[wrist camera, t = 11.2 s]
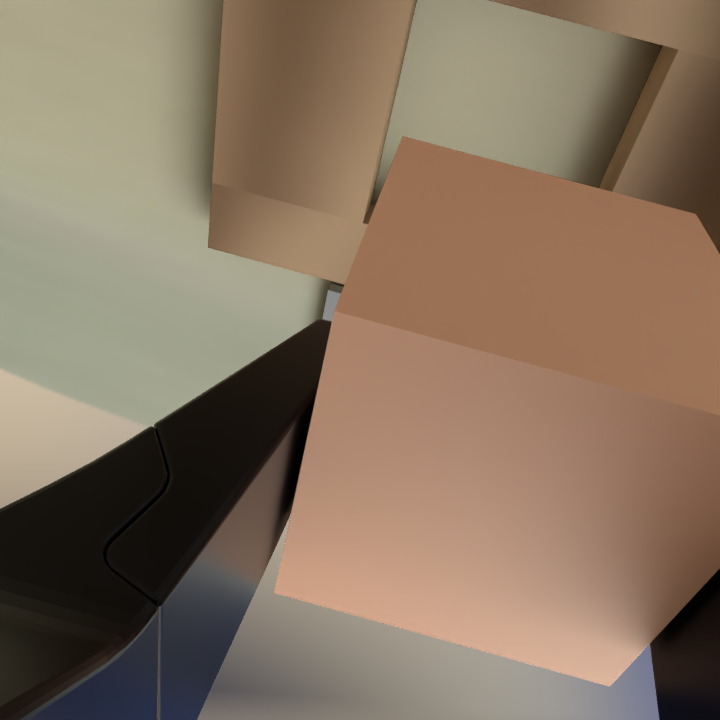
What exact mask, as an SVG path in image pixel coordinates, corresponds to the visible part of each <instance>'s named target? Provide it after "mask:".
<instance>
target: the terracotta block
mask: <svg viewBox="0 0 720 720" xmlns="http://www.w3.org/2000/svg"><path fill="white" fill-rule="evenodd" d="M719 569H720V254H719V252H718V250H717V249H716V247H715V245H714V244H713V242H712V240H711V239H710V237H709V235H708V234H707V232H706V230H705V228H704V227H703V225H702V223H701V222H700V220H699V218H698V217H697V215H696V214H694V213H690V212H686V211H682V210H679V209H675V208H671V207H667V206H663V205H660V204H656V203H652V202H648V201H645V200H641V199H637V198H633V197H629V196H626V195H622V194H618V193H614V192H611V191H607V190H603V189H599V188H596V187H592V186H588V185H584V184H580V183H577V182H573V181H569V180H565V179H562V178H558V177H554V176H550V175H547V174H543V173H539V172H535V171H531V170H528V169H524V168H520V167H516V166H513V165H509V164H505V163H501V162H497V161H494V160H490V159H486V158H482V157H479V156H475V155H471V154H467V153H464V152H460V151H456V150H452V149H448V148H445V147H441V146H437V145H433V144H430V143H426V142H422V141H418V140H414V139H411V138H407V137H402V139H401V142H400V144H399V147H398V149H397V152H396V154H395V157H394V160H393V162H392V165H391V167H390V170H389V172H388V175H387V177H386V180H385V183H384V185H383V188H382V190H381V193H380V195H379V198H378V200H377V203H376V206H375V208H374V211H373V213H372V216H371V218H370V221H369V223H368V226H367V229H366V231H365V234H364V236H363V239H362V241H361V244H360V246H359V249H358V252H357V254H356V257H355V259H354V262H353V264H352V267H351V269H350V272H349V275H348V277H347V280H346V282H345V285H344V287H343V290H342V292H341V295H340V298H339V300H338V303H337V305H336V308H335V310H334V314H333V319H332V324H331V328H330V333H329V338H328V342H327V347H326V352H325V357H324V361H323V366H322V371H321V375H320V380H319V385H318V389H317V394H316V399H315V403H314V408H313V413H312V418H311V422H310V427H309V432H308V436H307V441H306V446H305V450H304V455H303V460H302V464H301V469H300V474H299V478H298V483H297V488H296V493H295V497H294V502H293V507H292V511H291V517H290V521H289V526H288V530H287V535H286V540H285V544H284V549H283V554H282V558H281V563H280V568H279V572H278V577H277V582H276V586H275V591H274V593H277V594H280V595H284V596H287V597H291V598H294V599H298V600H302V601H305V602H309V603H312V604H316V605H319V606H324V607H327V608H330V609H334V610H338V611H341V612H345V613H349V614H352V615H355V616H359V617H362V618H366V619H370V620H373V621H377V622H380V623H384V624H388V625H391V626H395V627H399V628H402V629H406V630H409V631H413V632H416V633H420V634H424V635H427V636H431V637H434V638H438V639H442V640H445V641H449V642H452V643H456V644H459V645H463V646H466V647H470V648H474V649H477V650H481V651H484V652H488V653H491V654H495V655H499V656H502V657H506V658H510V659H513V660H517V661H520V662H524V663H527V664H531V665H534V666H538V667H542V668H546V669H549V670H553V671H556V672H560V673H564V674H567V675H571V676H574V677H578V678H581V679H585V680H588V681H592V682H595V683H599V684H603V685H607V686H611V685H612V684H613V683H614V681H615V680H616V679H617V678H618V677H619V676H620V675H621V674H622V673H623V672H624V671H625V670H626V668H628V666H629V665H630V664H631V663H632V662H633V661H634V660H635V659H636V658H637V657H638V655H640V653H641V652H642V651H643V650H644V649H645V648H646V647H647V646H648V645H649V644H650V643H651V642H652V641H653V640H654V639H655V637H656V636H657V635H658V634H659V633H660V632H661V631H662V630H663V629H664V628H665V627H666V626H667V625H668V623H669V622H670V621H671V620H672V619H673V618H674V617H675V616H676V615H677V614H678V613H679V612H680V611H681V609H682V608H683V607H684V606H685V605H686V604H687V603H688V602H689V601H690V600H691V599H692V598H693V597H694V596H695V594H696V593H697V592H698V591H699V590H700V589H701V588H702V587H703V586H704V585H705V584H706V583H707V582H708V580H709V579H710V578H711V577H712V576H713V575H714V574H715V573H716V572H717V571H718V570H719Z"/></svg>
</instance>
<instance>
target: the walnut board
mask: <svg viewBox="0 0 720 720" xmlns="http://www.w3.org/2000/svg"><path fill="white" fill-rule="evenodd" d="M490 1H494V2H497V3H501V4H505V5H509V6H513V7H517V8H520V9H524V10H528V11H532V12H536V13H540V14H544V15H547V16H551V17H555V18H559V19H563V20H567V21H571V22H574V23H578V24H582V25H586V26H590V27H594V28H597V29H601V30H605V31H609V32H613V33H617V34H621V35H624V36H628V37H632V38H636V39H640V40H644V41H648V42H651V43H655V44H659V45H663V46H662V48H661V50H660V53H659V55H658V57H657V59H656V62H655V64H654V66H653V68H652V70H651V73H650V75H649V77H648V79H647V81H646V84H645V86H644V88H643V90H642V93H641V95H640V97H639V99H638V101H637V104H636V106H635V108H634V110H633V112H632V115H631V117H630V119H629V121H628V124H627V126H626V128H625V130H624V132H623V135H622V137H621V139H620V141H619V144H618V146H617V148H616V150H615V152H614V155H613V157H612V159H611V161H610V163H609V166H608V168H607V170H606V172H605V175H604V177H603V179H602V181H601V183H600V186H599V189H603V190H607V191H611V192H614V193H618V194H622V195H626V196H629V197H633V198H637V199H641V200H645V201H648V202H652V203H656V204H660V205H663V206H667V207H671V208H675V209H679V210H682V211H686V212H690V213H694V214H696V215H697V217H698V218H699V220H700V222H701V223H702V225H703V227H704V228H705V230H706V232H707V234H708V235H709V237H710V239H711V240H712V242H713V244H714V245H715V247H716V249H717V250H718V252H719V254H720V0H490ZM416 2H417V0H223V15H222V31H221V47H220V63H219V79H218V95H217V111H216V127H215V143H214V159H213V175H212V191H211V207H210V223H209V238H208V248H212V249H215V250H219V251H223V252H226V253H230V254H234V255H237V256H241V257H245V258H249V259H252V260H256V261H260V262H263V263H267V264H271V265H274V266H278V267H282V268H286V269H289V270H293V271H297V272H300V273H304V274H308V275H311V276H315V277H319V278H323V279H326V280H330V281H334V282H337V283H341V284H345V282H346V280H347V277H348V275H349V272H350V269H351V267H352V264H353V262H354V259H355V257H356V254H357V252H358V249H359V246H360V244H361V241H362V239H363V236H364V234H365V231H366V229H367V226H368V223H369V221H370V218H371V216H372V213H373V211H374V208H375V206H376V205H373V204H371V201H372V196H373V192H374V187H375V183H376V179H377V174H378V170H379V165H380V161H381V157H382V152H383V148H384V143H385V139H386V134H387V130H388V126H389V121H390V117H391V112H392V108H393V103H394V99H395V95H396V90H397V86H398V81H399V77H400V73H401V68H402V64H403V59H404V55H405V50H406V46H407V42H408V37H409V33H410V28H411V24H412V19H413V15H414V11H415V6H416Z"/></svg>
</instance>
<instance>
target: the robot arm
mask: <svg viewBox="0 0 720 720" xmlns="http://www.w3.org/2000/svg"><path fill="white" fill-rule="evenodd" d="M331 324H332V321H328V320H325V319H319V320H317V321H315V322H314V323H312V324H311V325H309V326H308V327H306V328H304V329H303V330H301V331H300V332H298V333H297V334H295V335H293V336H292V337H290V338H289V339H287V340H286V341H284V342H282V343H281V344H279V345H278V346H276V347H274V348H273V349H271V350H270V351H268V352H267V353H265V354H263V355H262V356H260V357H259V358H257V359H256V360H254V361H252V362H251V363H249V364H248V365H246V366H245V367H243V368H241V369H240V370H238V371H237V372H235V373H234V374H232V375H230V376H229V377H227V378H226V379H224V380H223V381H221V382H219V383H218V384H216V385H215V386H213V387H212V388H210V389H208V390H207V391H205V392H204V393H202V394H201V395H199V396H197V397H196V398H194V399H193V400H191V401H190V402H188V403H186V404H185V405H183V406H182V407H180V408H179V409H177V410H175V411H174V412H172V413H171V414H169V415H168V416H166V417H164V418H163V419H161V420H160V421H158V422H157V423H155V425H154V427H152V426H151V427H148V428H147V429H145V430H144V431H142V432H141V433H139V434H137V435H136V436H134V437H133V438H131V439H129V440H128V441H126V442H125V443H123V444H121V445H119V446H118V447H116V448H114V449H113V450H111V451H109V452H108V453H106V454H104V455H103V456H101V457H99V458H98V459H96V460H94V461H93V462H91V463H89V464H87V465H85V466H83V467H81V468H79V469H78V470H76V471H74V472H72V473H70V474H68V475H66V476H64V477H62V478H60V479H59V480H57V481H55V482H53V483H51V484H49V485H47V486H45V487H43V488H41V489H39V490H37V491H35V492H33V493H31V494H29V495H27V496H25V497H23V498H21V499H19V500H17V501H15V502H13V503H11V504H9V505H7V506H5V507H3V508H1V509H0V720H197V719H198V716H199V714H200V712H201V710H202V708H203V705H204V703H205V701H206V699H207V697H208V694H209V692H210V690H211V688H212V686H213V683H214V681H215V679H216V676H217V675H218V673H219V670H220V668H221V666H222V664H223V661H224V659H225V657H226V654H227V653H228V651H229V648H230V646H231V644H232V642H233V640H234V637H235V635H236V633H237V631H238V629H239V626H240V624H241V622H242V620H243V617H244V615H245V613H246V611H247V609H248V607H249V604H250V602H251V600H252V598H253V596H254V593H255V591H256V589H257V587H258V584H259V582H260V580H261V578H262V576H263V574H264V571H265V569H266V567H267V565H268V563H269V560H270V558H271V556H272V554H273V552H274V550H275V547H276V545H277V543H278V541H279V539H280V536H281V534H282V532H283V530H284V527H285V525H286V523H287V521H288V519H289V517H290V514H291V511H292V507H293V502H294V497H295V493H296V488H297V483H298V478H299V474H300V469H301V464H302V460H303V455H304V450H305V446H306V441H307V436H308V432H309V427H310V422H311V418H312V413H313V408H314V403H315V399H316V394H317V389H318V385H319V380H320V375H321V371H322V366H323V361H324V357H325V352H326V347H327V342H328V338H329V333H330V328H331ZM650 648H651V656H652V664H653V671H654V679H655V688H656V695H657V704H658V712H659V719H660V720H720V569H719V570H718V571H717V572H716V573H715V574H714V575H713V576H712V577H711V578H710V579H709V580H708V582H707V583H706V584H705V585H704V586H703V587H702V588H701V589H700V590H699V591H698V592H697V593H696V594H695V596H694V597H693V598H692V599H691V600H690V601H689V602H688V603H687V604H686V605H685V606H684V607H683V608H682V609H681V611H680V612H679V613H678V614H677V615H676V616H675V617H674V618H673V619H672V620H671V621H670V622H669V623H668V625H667V626H666V627H665V628H664V629H663V630H662V631H661V632H660V633H659V634H658V635H657V636H656V637H655V639H654V640H653V641H652V642H651V643H650Z"/></svg>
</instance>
